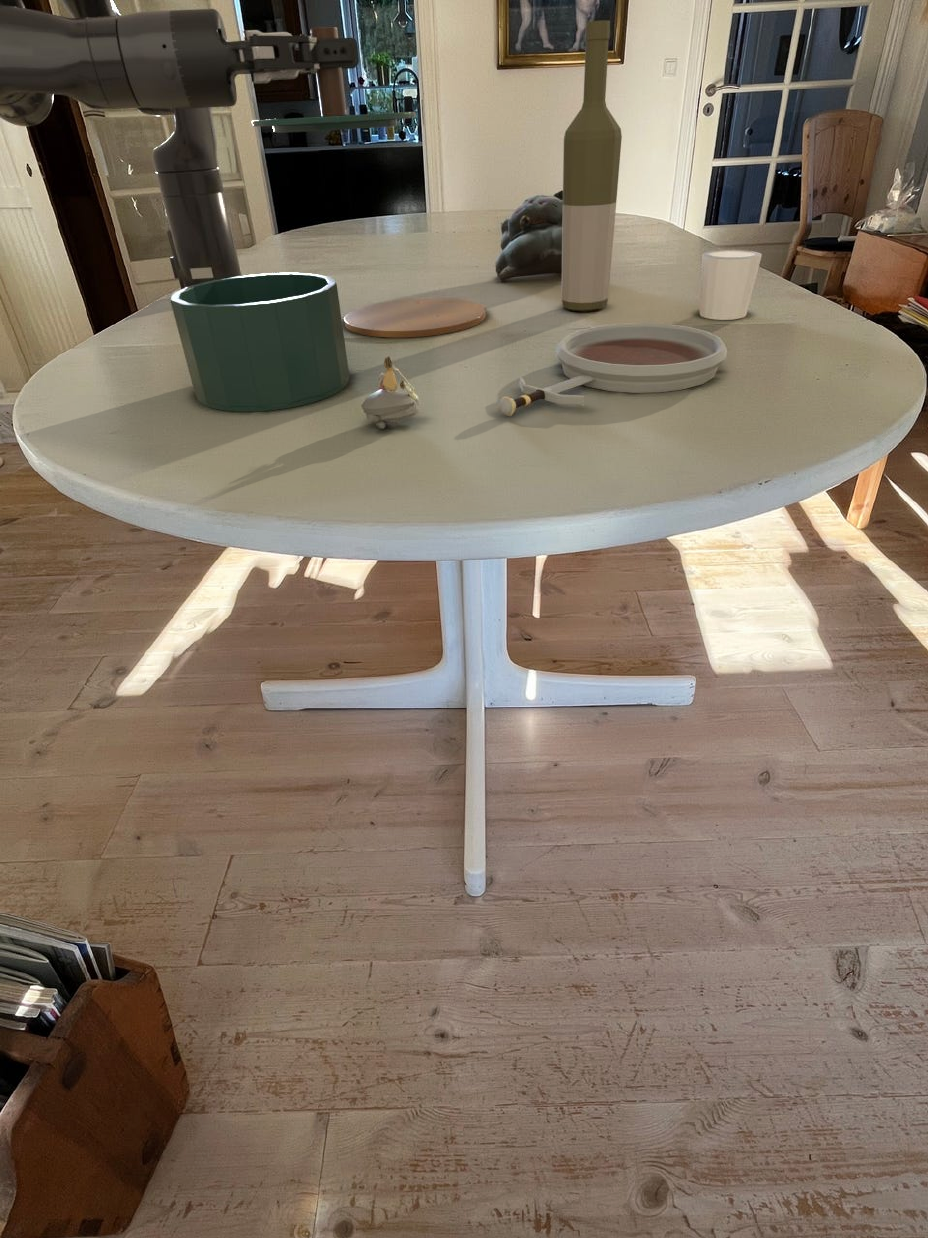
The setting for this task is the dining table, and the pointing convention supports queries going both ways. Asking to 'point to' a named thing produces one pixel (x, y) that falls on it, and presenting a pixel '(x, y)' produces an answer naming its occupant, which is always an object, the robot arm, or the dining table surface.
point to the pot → (262, 340)
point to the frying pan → (629, 362)
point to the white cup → (727, 283)
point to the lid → (332, 104)
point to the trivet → (415, 317)
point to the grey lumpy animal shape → (532, 238)
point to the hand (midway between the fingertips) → (356, 53)
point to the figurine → (390, 400)
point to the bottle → (590, 184)
